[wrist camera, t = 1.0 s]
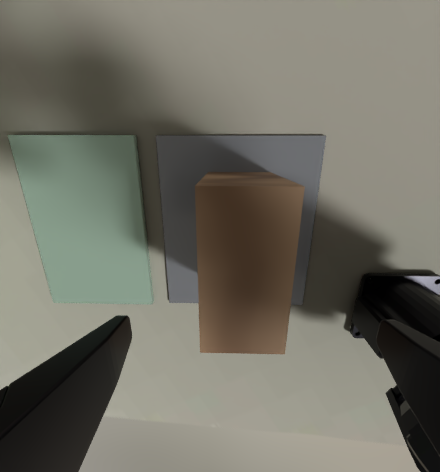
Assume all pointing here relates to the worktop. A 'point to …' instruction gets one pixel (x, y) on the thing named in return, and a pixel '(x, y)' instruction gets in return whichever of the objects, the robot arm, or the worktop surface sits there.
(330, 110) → the worktop surface
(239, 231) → the walnut block
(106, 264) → the green mat
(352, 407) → the worktop surface
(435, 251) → the worktop surface
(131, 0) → the worktop surface
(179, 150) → the plate
